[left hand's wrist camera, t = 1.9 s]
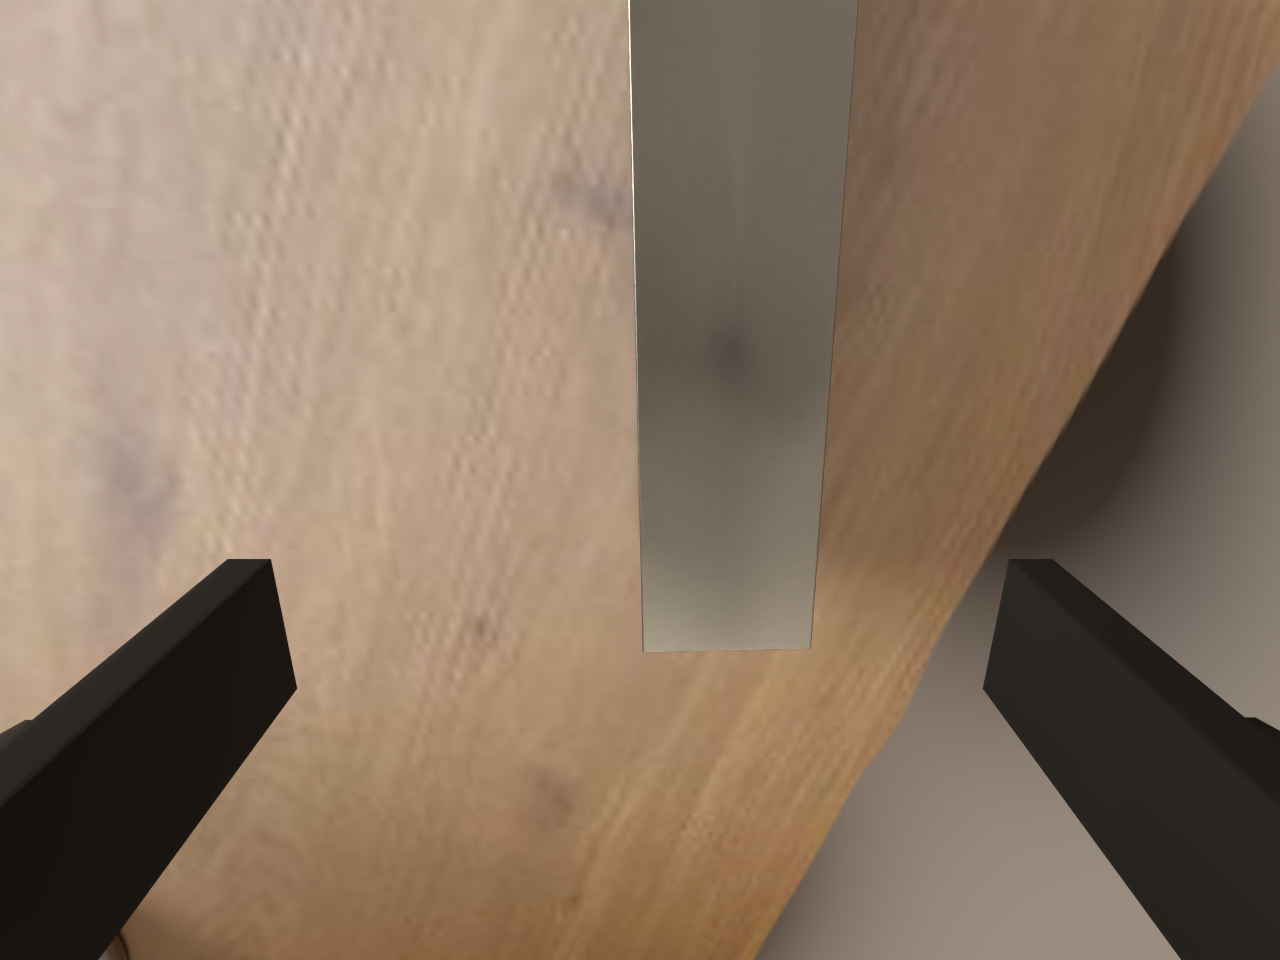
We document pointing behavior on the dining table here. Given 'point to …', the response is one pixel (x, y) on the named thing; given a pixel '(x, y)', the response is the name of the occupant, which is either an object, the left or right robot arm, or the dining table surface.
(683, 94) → the bar
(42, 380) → the dining table surface
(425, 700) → the dining table surface
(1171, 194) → the dining table surface
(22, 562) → the dining table surface
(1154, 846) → the left robot arm
